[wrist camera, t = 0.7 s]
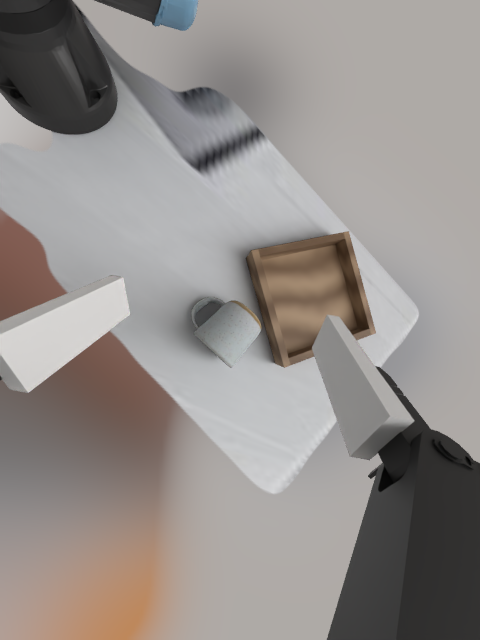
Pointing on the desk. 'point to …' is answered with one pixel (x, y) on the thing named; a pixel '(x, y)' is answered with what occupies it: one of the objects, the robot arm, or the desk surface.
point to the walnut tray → (308, 293)
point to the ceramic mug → (227, 329)
